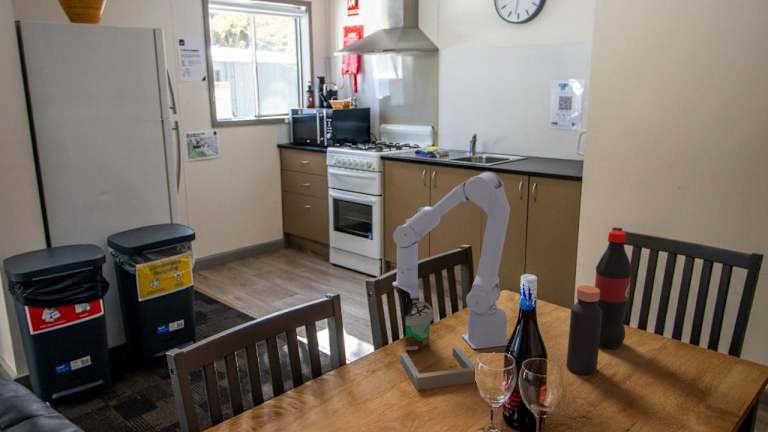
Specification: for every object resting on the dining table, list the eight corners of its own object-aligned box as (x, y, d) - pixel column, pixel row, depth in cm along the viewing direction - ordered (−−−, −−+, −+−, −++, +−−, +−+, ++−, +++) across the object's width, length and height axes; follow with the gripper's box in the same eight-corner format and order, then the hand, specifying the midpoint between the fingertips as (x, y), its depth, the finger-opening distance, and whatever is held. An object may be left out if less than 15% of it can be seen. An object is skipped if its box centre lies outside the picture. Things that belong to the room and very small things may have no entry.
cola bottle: (628, 342, 144) (641, 231, 137) (617, 354, 138) (629, 238, 131) (596, 333, 150) (606, 225, 143) (583, 344, 143) (594, 232, 137)
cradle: (458, 354, 138) (458, 342, 137) (480, 381, 125) (481, 369, 125) (400, 361, 134) (400, 349, 134) (417, 390, 122) (417, 377, 121)
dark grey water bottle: (579, 378, 127) (587, 296, 122) (560, 364, 133) (566, 285, 128) (603, 372, 129) (611, 292, 125) (582, 359, 135) (590, 282, 131)
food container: (429, 357, 136) (430, 319, 134) (405, 355, 137) (405, 317, 135) (435, 335, 148) (436, 300, 146) (412, 333, 149) (413, 299, 147)
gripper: (386, 260, 157) (386, 304, 160) (400, 276, 143) (400, 325, 146) (410, 258, 158) (409, 302, 162) (426, 274, 145) (425, 322, 148)
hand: (406, 313), depth 154 cm, fingers closed
